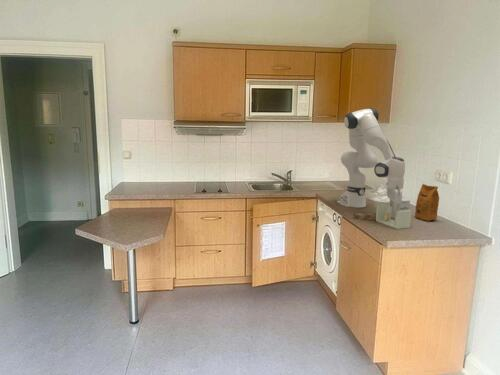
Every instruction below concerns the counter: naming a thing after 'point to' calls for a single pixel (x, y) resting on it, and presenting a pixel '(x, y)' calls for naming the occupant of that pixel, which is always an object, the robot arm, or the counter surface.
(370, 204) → the counter surface
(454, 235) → the counter surface
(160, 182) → the counter surface
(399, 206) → the supplement box
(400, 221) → the pegged wall bracket
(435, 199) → the coffee package
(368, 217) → the brown wooden block
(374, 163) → the robot arm
